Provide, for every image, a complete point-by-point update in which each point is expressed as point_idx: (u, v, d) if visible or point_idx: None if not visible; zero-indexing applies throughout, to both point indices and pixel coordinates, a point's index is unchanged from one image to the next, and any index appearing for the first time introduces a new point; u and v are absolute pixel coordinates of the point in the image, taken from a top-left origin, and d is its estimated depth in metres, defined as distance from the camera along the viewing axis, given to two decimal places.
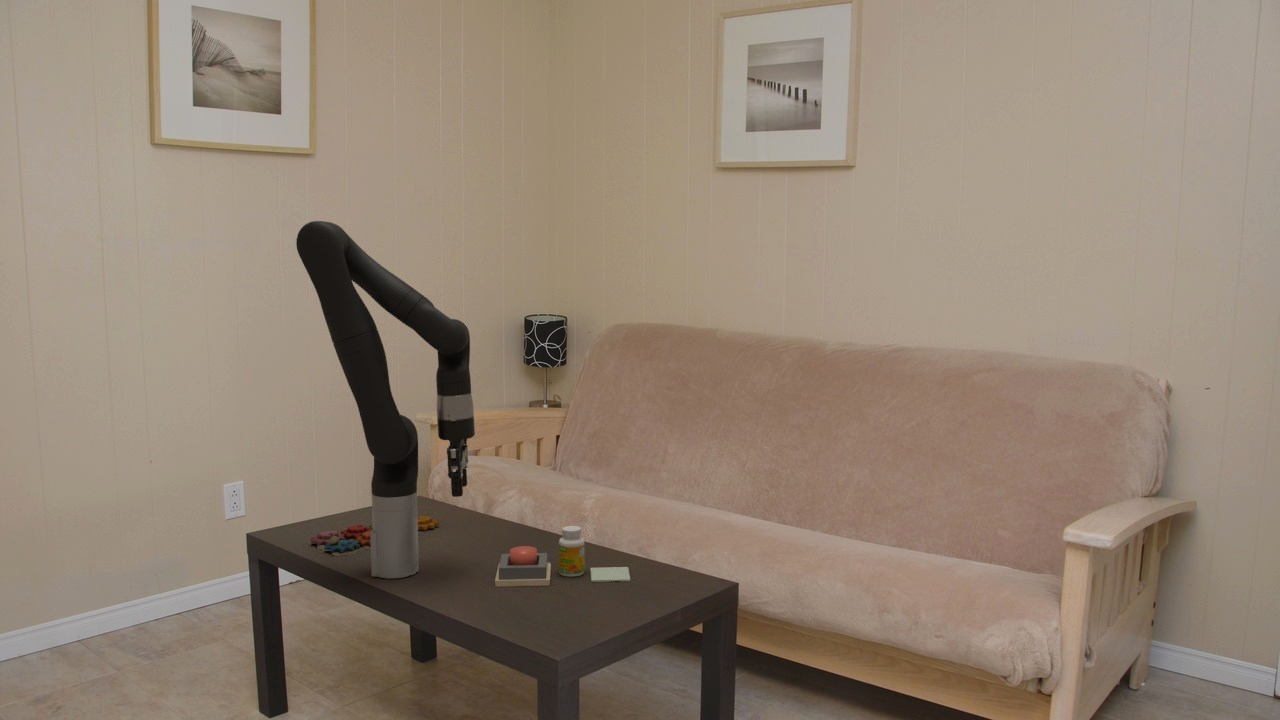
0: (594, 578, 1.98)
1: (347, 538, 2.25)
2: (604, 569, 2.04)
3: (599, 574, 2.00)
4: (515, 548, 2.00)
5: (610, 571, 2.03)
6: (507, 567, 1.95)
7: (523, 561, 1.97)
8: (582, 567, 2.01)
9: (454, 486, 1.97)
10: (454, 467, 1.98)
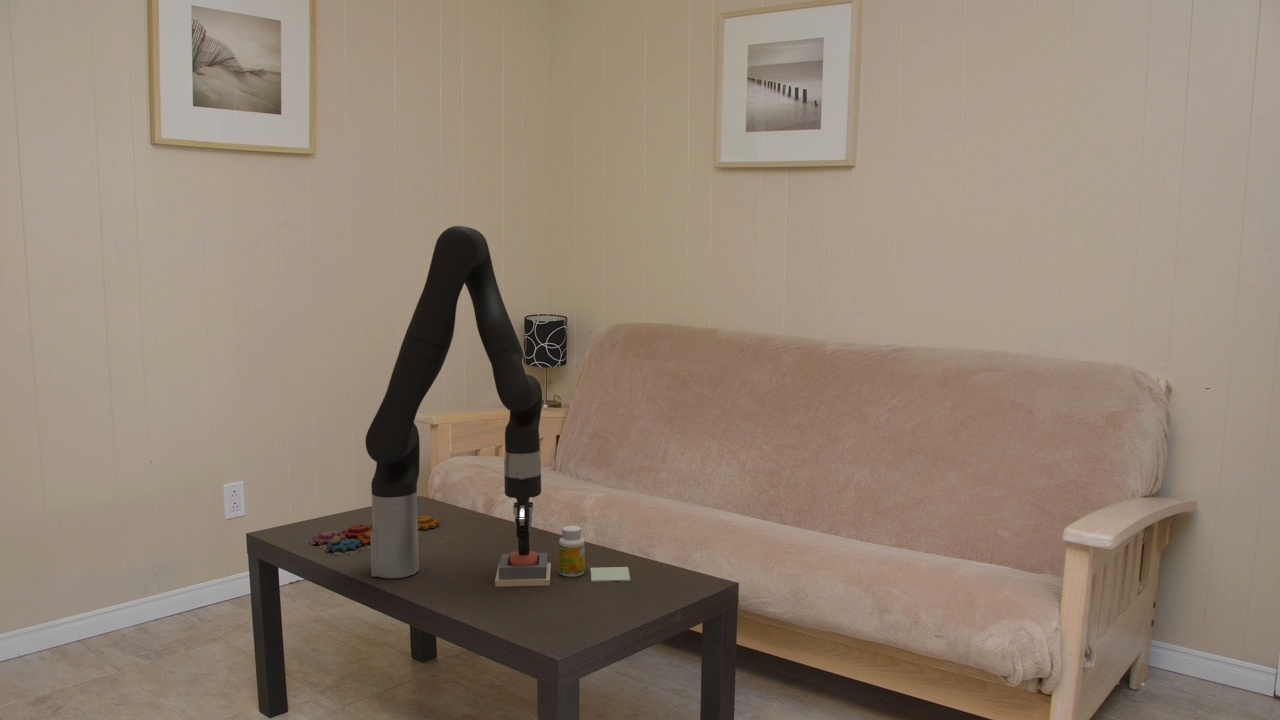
0: (594, 578, 1.98)
1: (349, 538, 2.25)
2: (604, 569, 2.04)
3: (599, 574, 2.00)
4: (515, 552, 2.00)
5: (610, 571, 2.03)
6: (507, 567, 1.95)
7: None
8: (582, 567, 2.01)
9: (521, 545, 1.98)
10: None
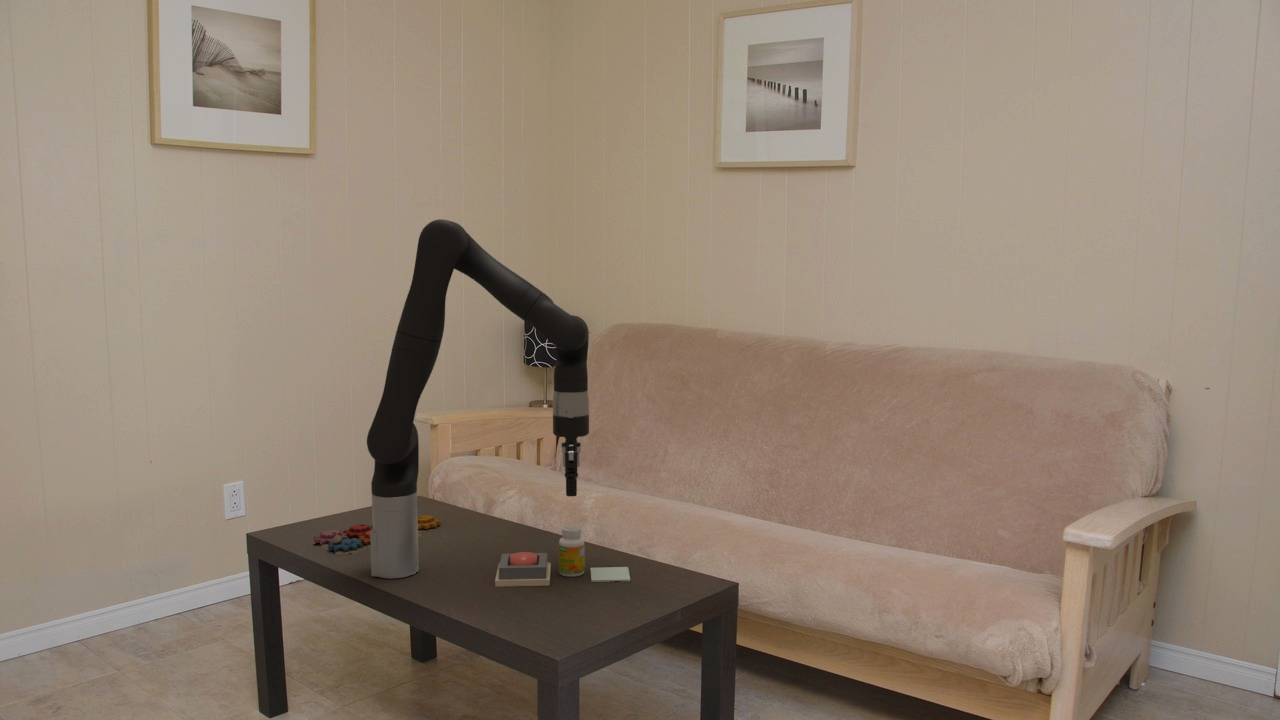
0: (594, 578, 1.98)
1: (350, 537, 2.25)
2: (604, 569, 2.04)
3: (599, 574, 2.00)
4: (515, 554, 2.00)
5: (610, 571, 2.03)
6: (507, 567, 1.95)
7: None
8: (582, 567, 2.01)
9: (569, 486, 1.97)
10: None
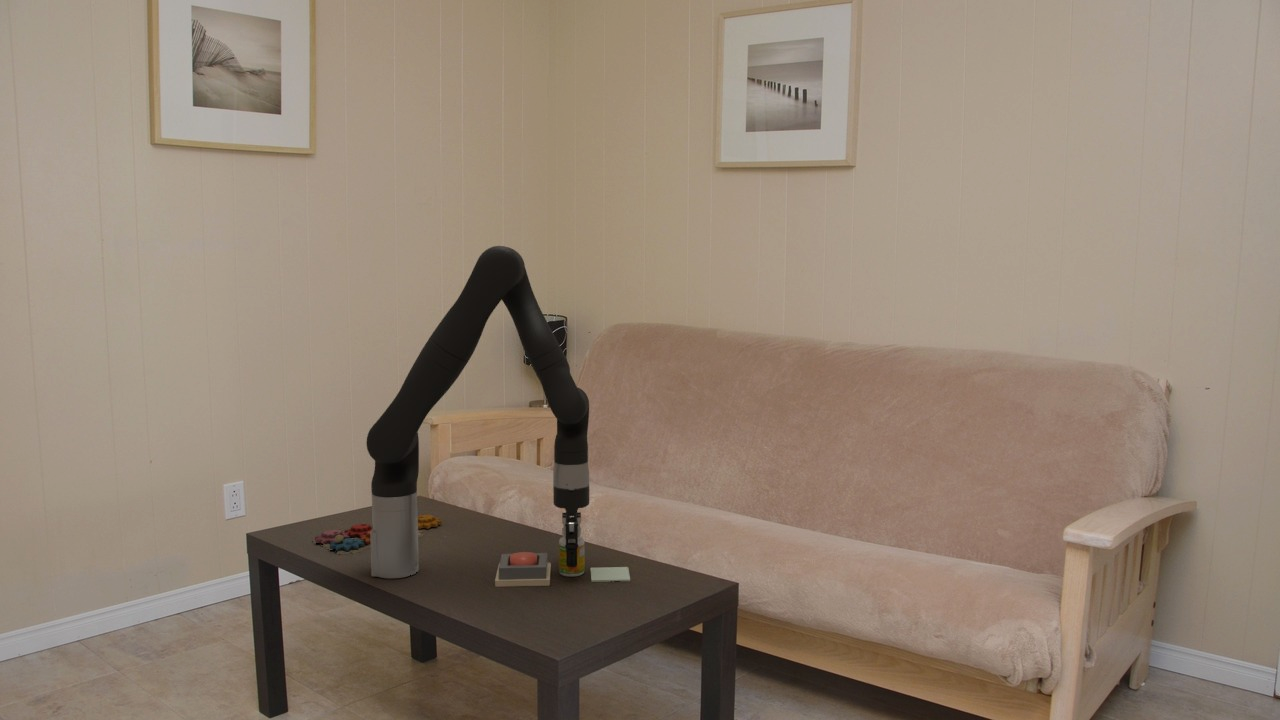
0: (594, 578, 1.98)
1: (351, 537, 2.26)
2: (604, 569, 2.04)
3: (599, 574, 2.00)
4: (515, 554, 2.00)
5: (610, 571, 2.03)
6: (507, 567, 1.95)
7: None
8: (582, 567, 2.01)
9: (570, 557, 1.98)
10: None
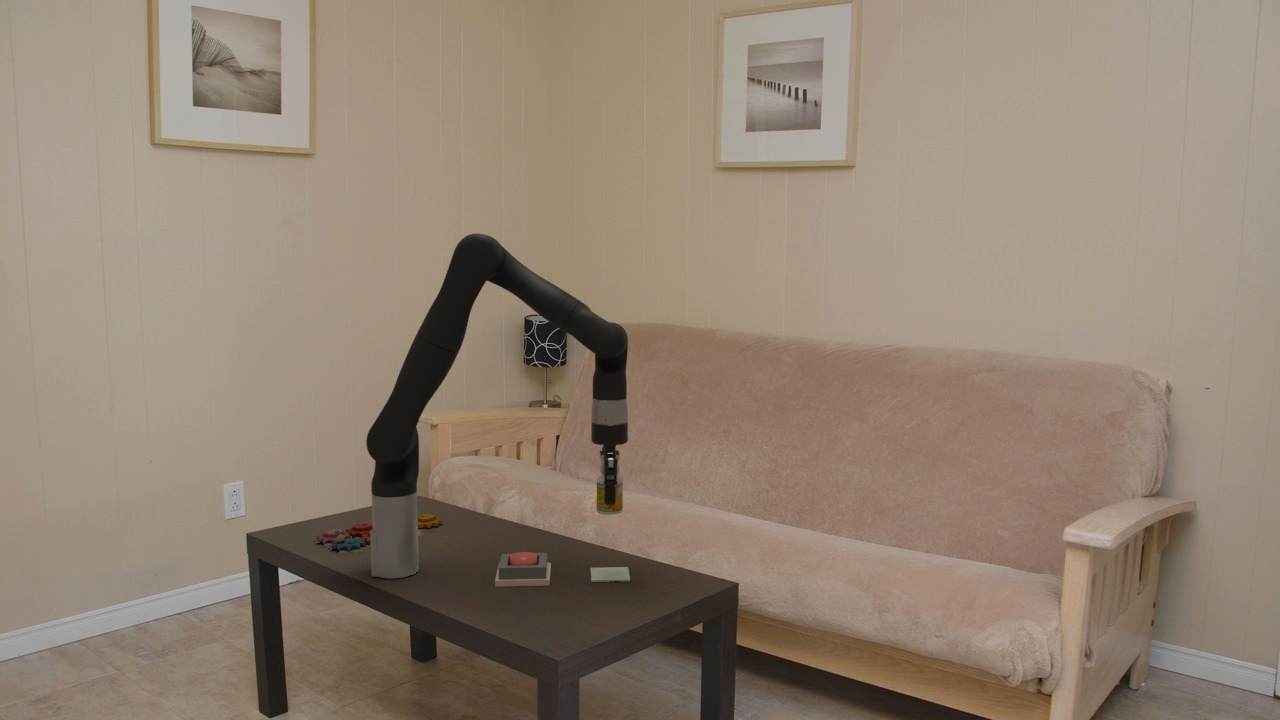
0: (594, 578, 1.98)
1: (352, 536, 2.26)
2: (604, 569, 2.04)
3: (599, 574, 2.00)
4: (515, 554, 2.00)
5: (610, 571, 2.03)
6: (507, 567, 1.95)
7: None
8: (620, 505, 1.98)
9: (608, 494, 1.95)
10: None
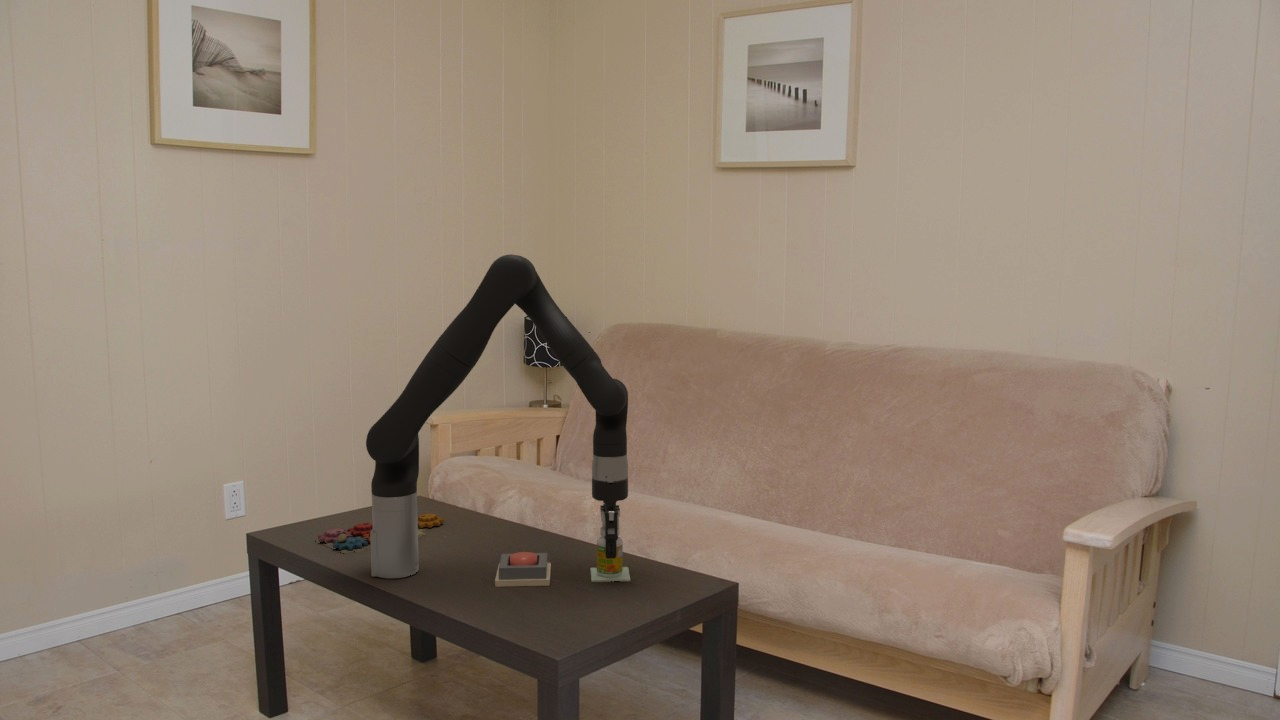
0: (594, 578, 1.98)
1: (354, 536, 2.26)
2: None
3: None
4: (515, 554, 2.00)
5: None
6: (507, 567, 1.95)
7: None
8: (620, 567, 2.00)
9: (609, 548, 1.95)
10: (609, 528, 1.96)
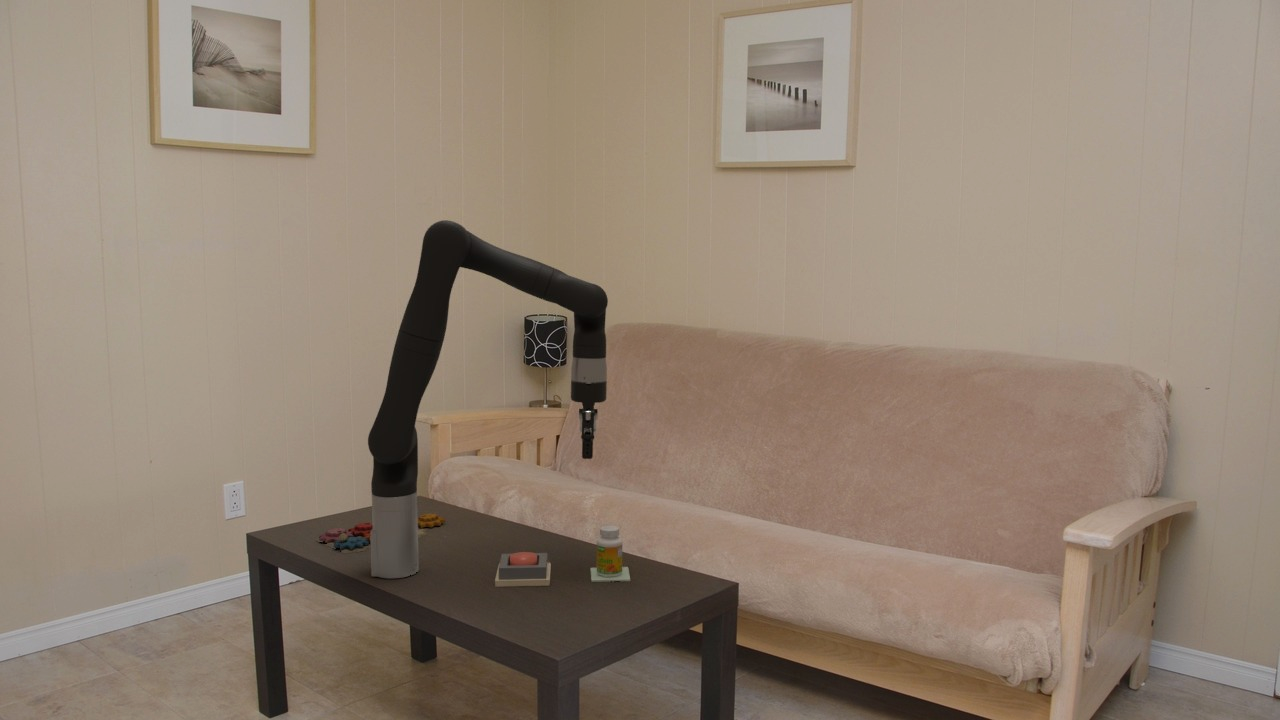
0: (594, 578, 1.98)
1: (355, 535, 2.27)
2: None
3: None
4: (515, 554, 2.00)
5: None
6: (507, 567, 1.95)
7: None
8: (620, 567, 2.00)
9: (585, 448, 1.98)
10: (586, 429, 1.99)
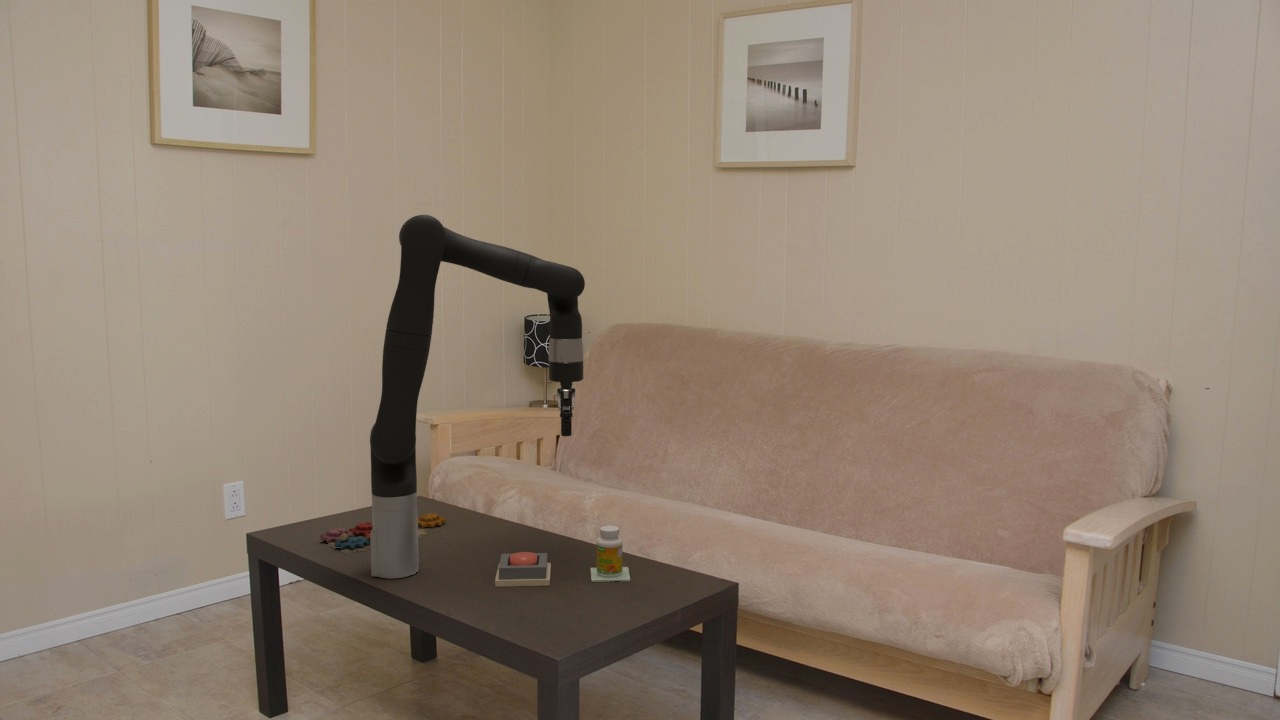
0: (594, 578, 1.98)
1: (356, 535, 2.27)
2: None
3: None
4: (515, 554, 2.00)
5: None
6: (507, 567, 1.95)
7: None
8: (620, 567, 2.00)
9: (564, 426, 2.05)
10: (564, 408, 2.06)
